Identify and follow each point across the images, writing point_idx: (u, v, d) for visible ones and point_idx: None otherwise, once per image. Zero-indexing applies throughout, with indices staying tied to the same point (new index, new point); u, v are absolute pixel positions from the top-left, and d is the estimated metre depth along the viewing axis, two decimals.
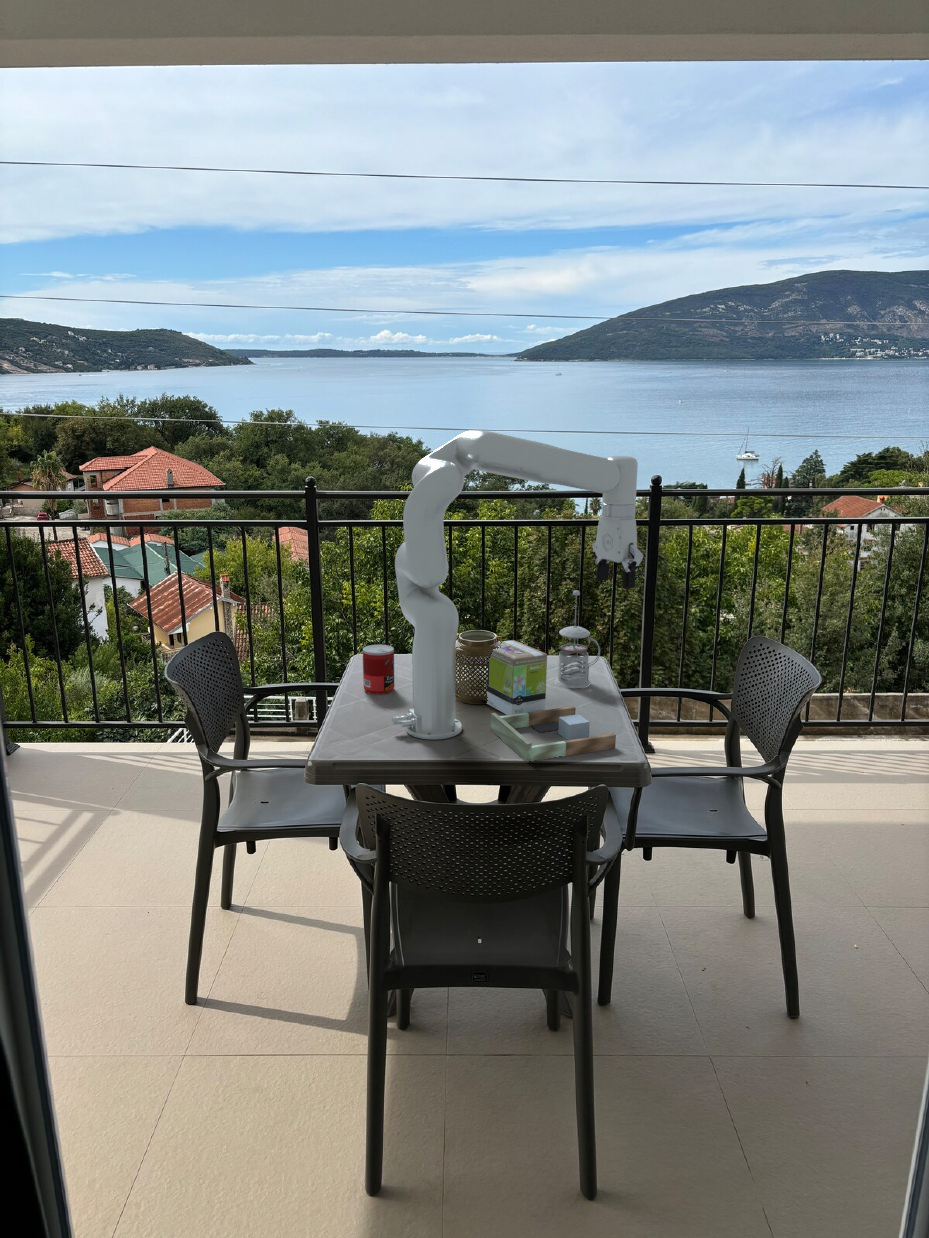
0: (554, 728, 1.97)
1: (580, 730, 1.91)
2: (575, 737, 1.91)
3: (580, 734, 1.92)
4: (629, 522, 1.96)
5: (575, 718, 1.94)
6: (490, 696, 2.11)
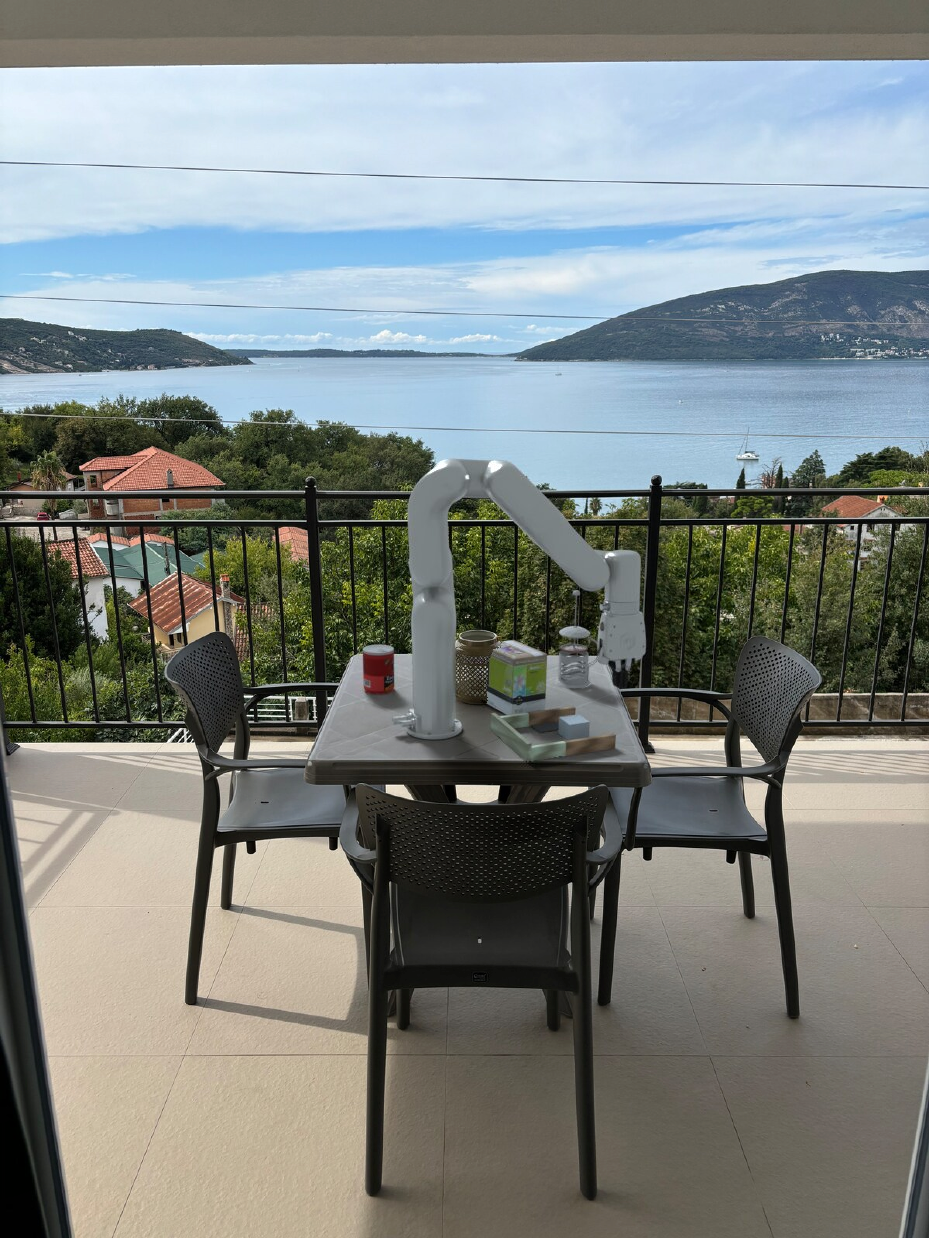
0: (554, 728, 1.97)
1: (580, 730, 1.91)
2: (575, 737, 1.91)
3: (580, 734, 1.92)
4: None
5: (575, 718, 1.94)
6: (490, 696, 2.11)
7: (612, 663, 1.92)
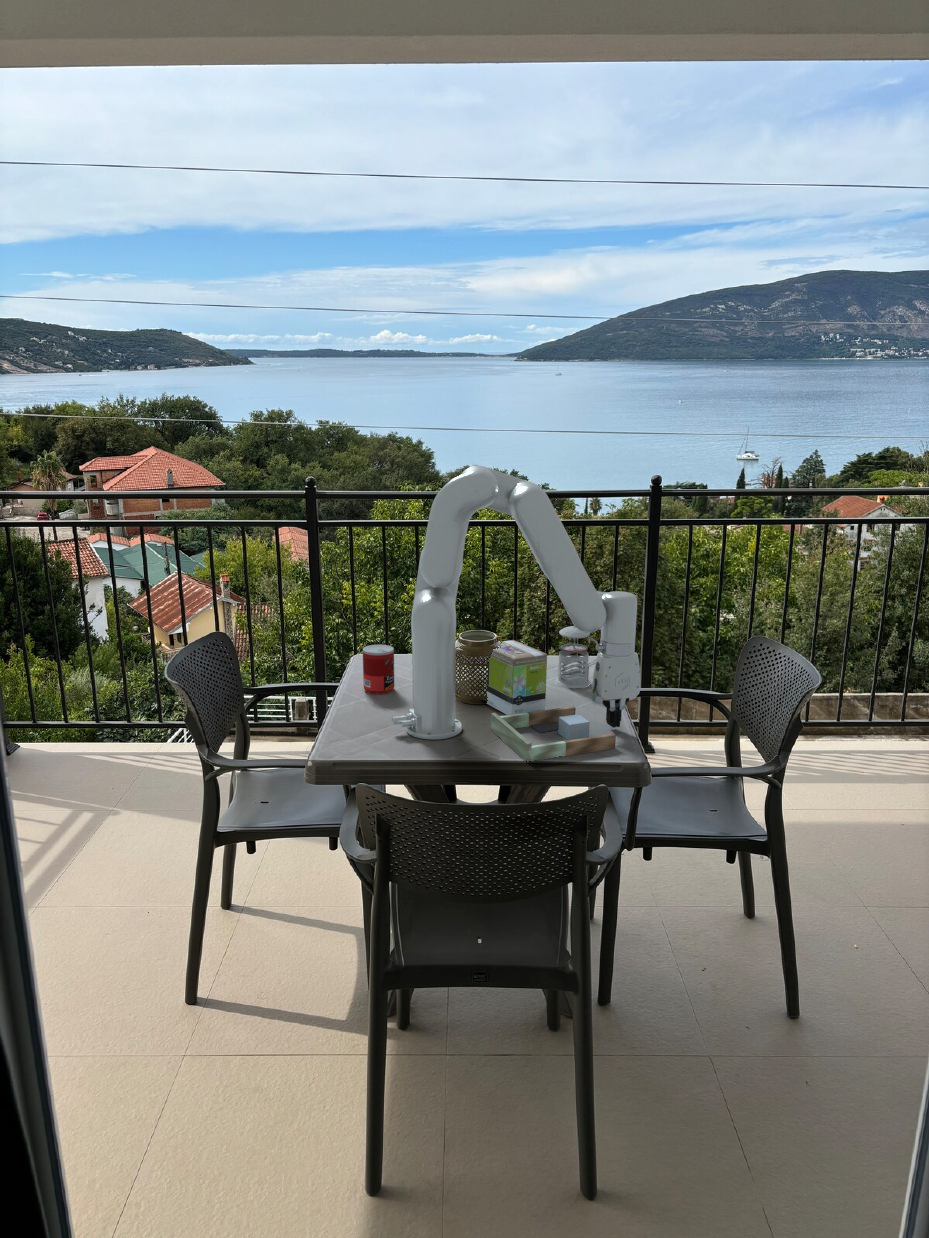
0: (554, 728, 1.97)
1: (580, 730, 1.91)
2: (575, 737, 1.91)
3: (580, 734, 1.92)
4: None
5: (575, 718, 1.94)
6: (490, 696, 2.11)
7: (606, 702, 1.94)
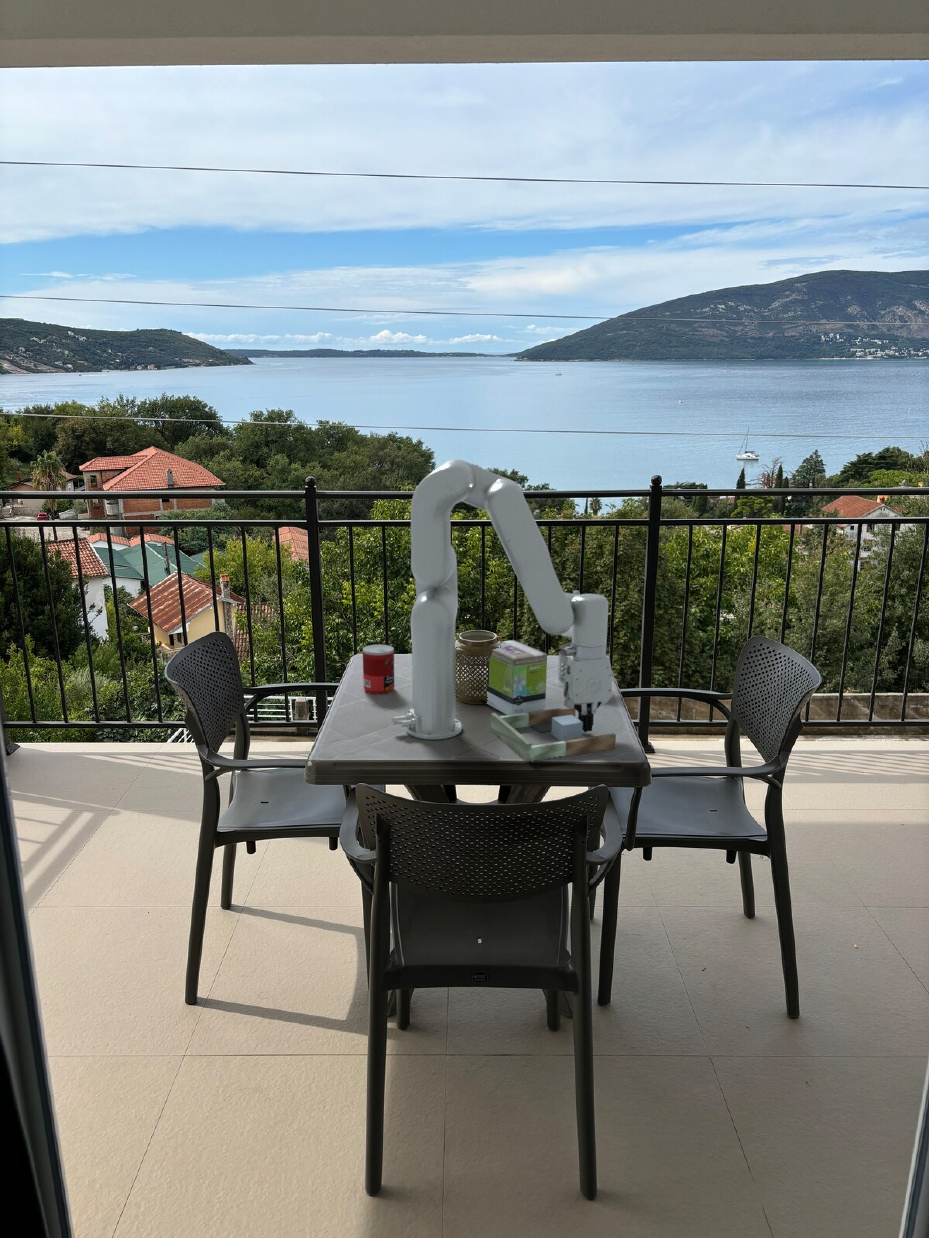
0: None
1: (573, 730, 1.91)
2: (568, 738, 1.91)
3: (573, 735, 1.91)
4: None
5: (568, 718, 1.93)
6: (490, 696, 2.11)
7: (578, 706, 1.92)
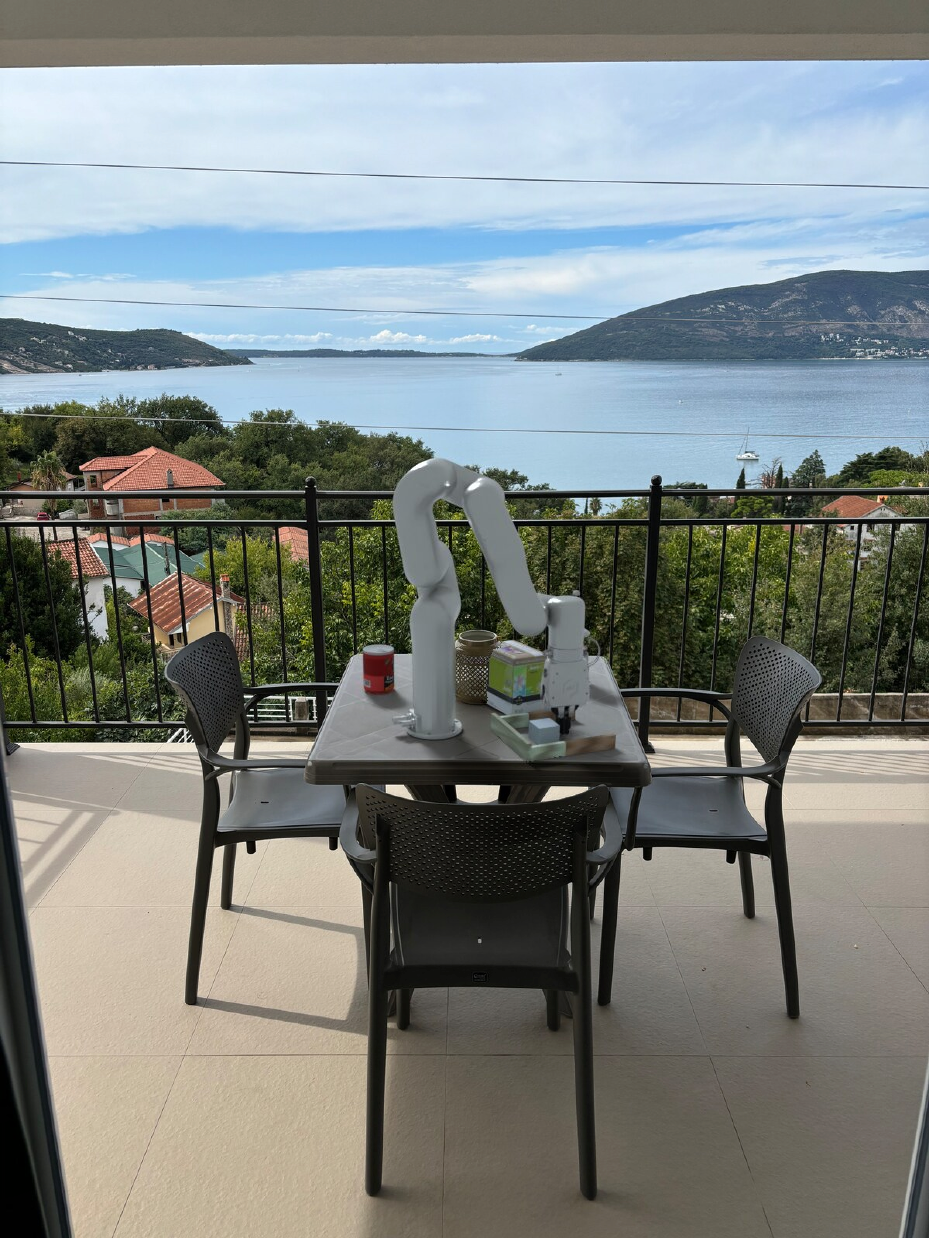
0: None
1: (550, 734, 1.89)
2: (545, 741, 1.88)
3: (550, 738, 1.89)
4: None
5: (545, 722, 1.91)
6: (490, 696, 2.11)
7: (555, 709, 1.90)
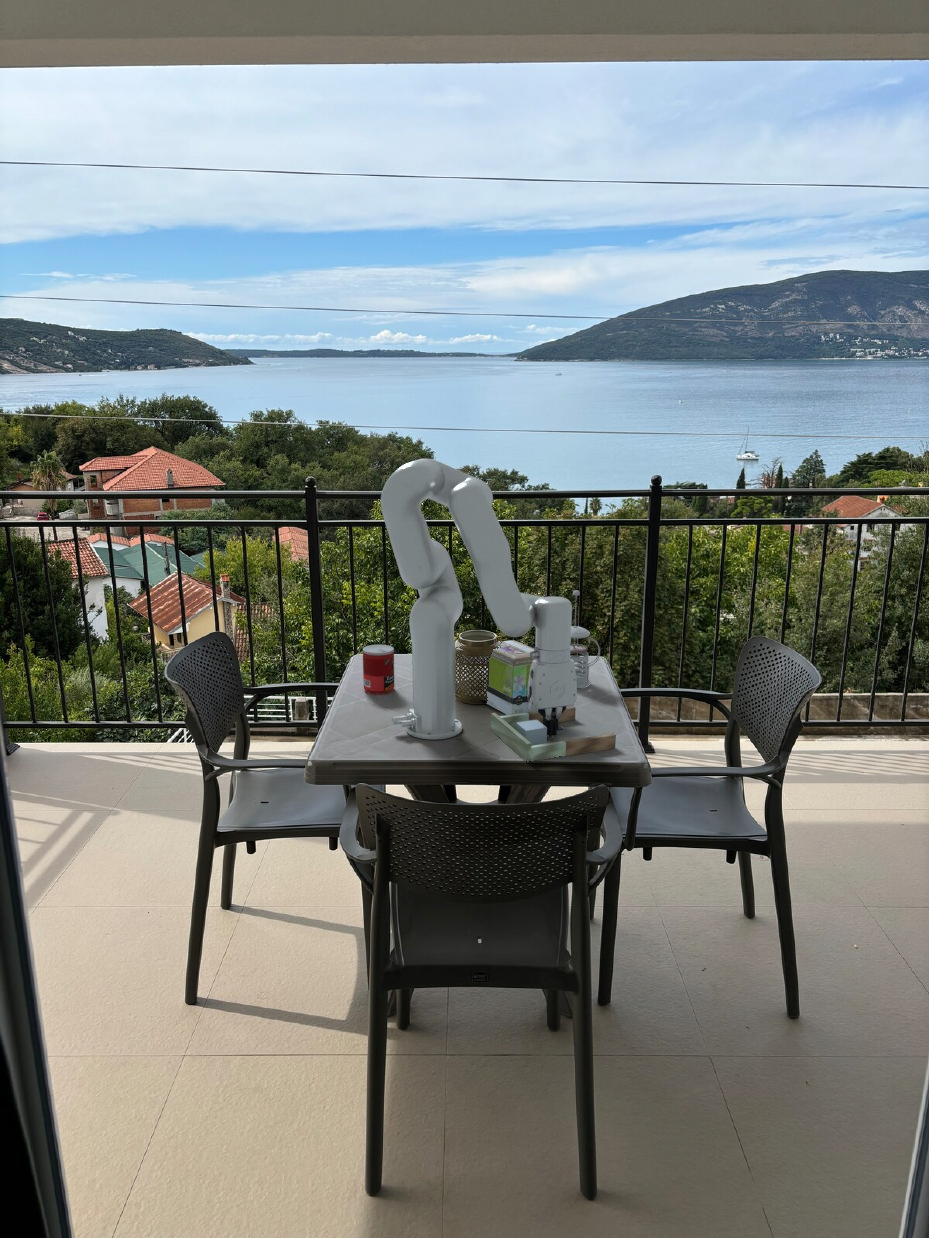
0: None
1: (537, 736, 1.87)
2: (532, 743, 1.87)
3: (537, 740, 1.88)
4: None
5: (533, 724, 1.90)
6: (490, 696, 2.11)
7: (542, 711, 1.88)
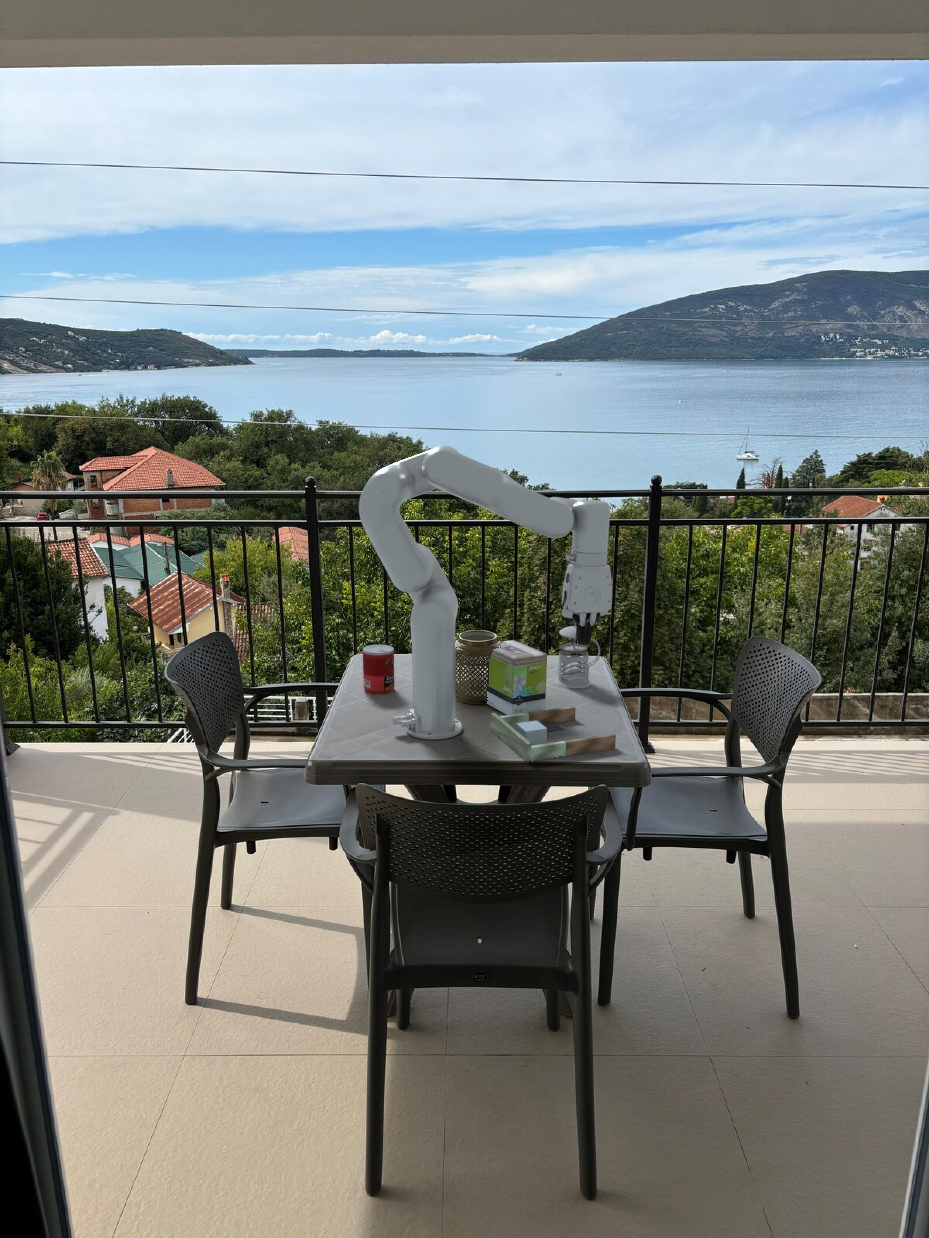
0: (554, 728, 1.97)
1: (537, 737, 1.87)
2: (532, 744, 1.87)
3: (537, 741, 1.88)
4: None
5: (533, 724, 1.90)
6: (490, 696, 2.11)
7: (576, 617, 1.86)
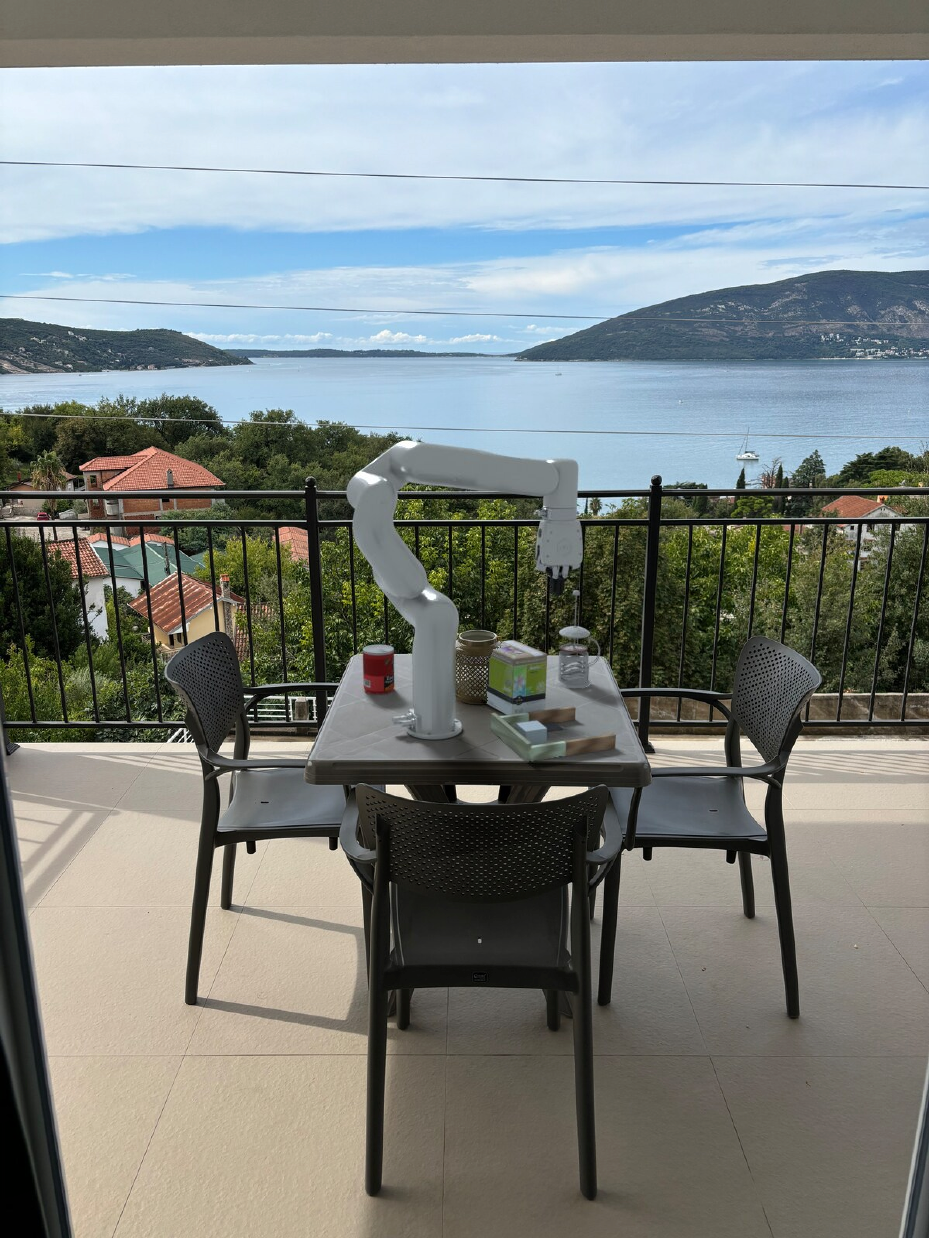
0: (554, 728, 1.97)
1: (537, 737, 1.87)
2: (532, 744, 1.87)
3: (537, 741, 1.88)
4: None
5: (533, 724, 1.90)
6: (490, 696, 2.11)
7: (549, 570, 1.97)
